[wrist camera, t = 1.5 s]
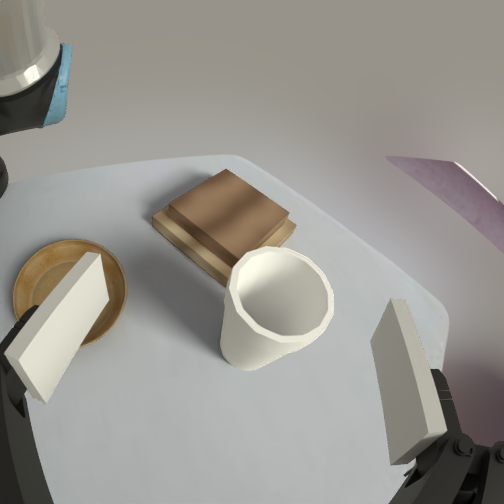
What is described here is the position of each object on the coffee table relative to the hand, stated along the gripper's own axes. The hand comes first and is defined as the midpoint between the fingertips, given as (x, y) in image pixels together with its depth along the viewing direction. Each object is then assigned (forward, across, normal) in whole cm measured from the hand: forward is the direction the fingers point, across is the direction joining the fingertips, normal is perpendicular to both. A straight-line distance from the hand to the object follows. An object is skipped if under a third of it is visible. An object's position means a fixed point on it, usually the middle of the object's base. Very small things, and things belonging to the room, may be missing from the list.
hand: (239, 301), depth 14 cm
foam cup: (+15, 0, -20) cm, 25 cm away
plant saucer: (+13, -21, -16) cm, 30 cm away
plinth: (+30, -5, -13) cm, 33 cm away
